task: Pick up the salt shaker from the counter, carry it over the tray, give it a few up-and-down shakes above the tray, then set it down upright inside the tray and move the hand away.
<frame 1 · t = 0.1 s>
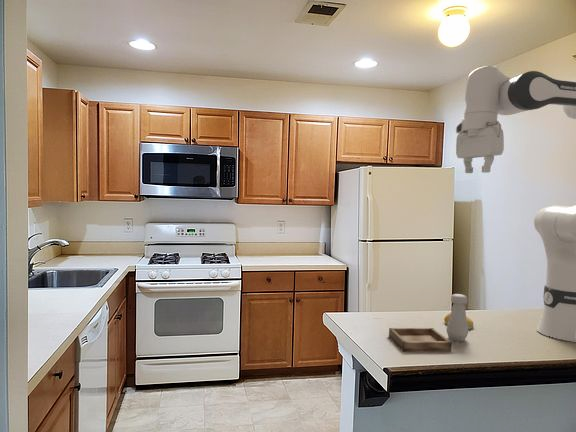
hand: (477, 172, 132), 48 cm above the countertop, tool pointing down, fingers open, 8 cm apart
bread roll: (458, 326, 144), on the countertop
salt shaker: (456, 340, 130), on the countertop
tray: (418, 343, 126), on the countertop
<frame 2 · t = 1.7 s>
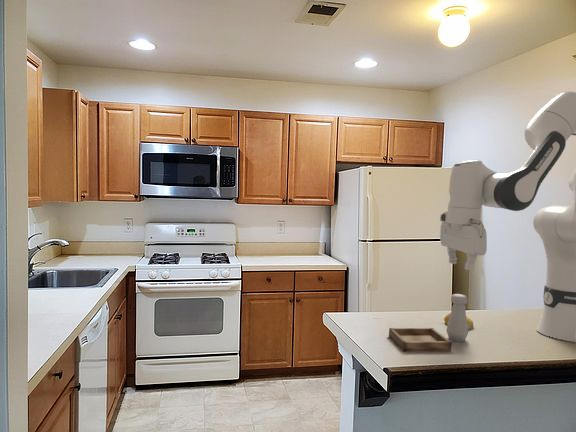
hand: (460, 266, 129), 21 cm above the countertop, tool pointing down, fingers open, 8 cm apart
nothing on the countertop moved.
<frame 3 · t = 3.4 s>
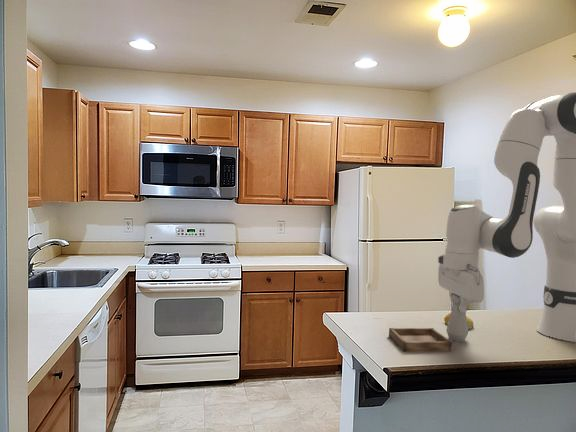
hand: (458, 309, 130), 9 cm above the countertop, tool pointing down, fingers closed on salt shaker, 3 cm apart
salt shaker: (456, 340, 130), on the countertop, touching gripper
everything else where it was.
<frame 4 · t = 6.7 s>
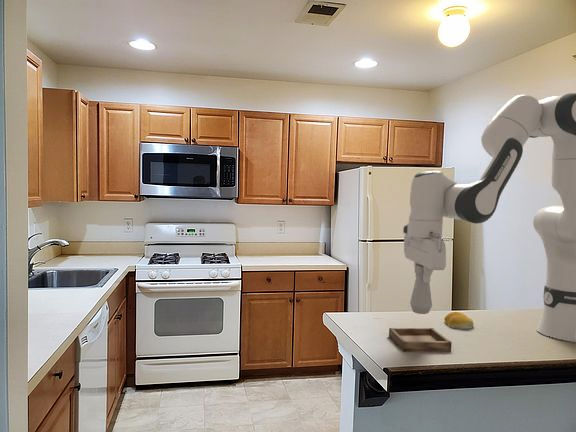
hand: (422, 280, 125), 18 cm above the countertop, tool pointing down, fingers closed on salt shaker, 3 cm apart
salt shaker: (420, 312, 125), point 9 cm above the countertop, touching gripper
everything else where it was.
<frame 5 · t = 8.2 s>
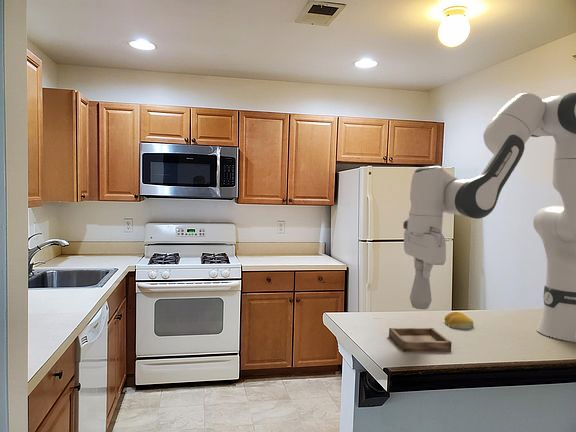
hand: (422, 275, 125), 19 cm above the countertop, tool pointing down, fingers closed on salt shaker, 3 cm apart
salt shaker: (420, 308, 125), point 10 cm above the countertop, touching gripper
everything else where it was.
when the fingers open (10 cm above the countertop, at t = 9.8 s): salt shaker stays where it is, resting on tray.
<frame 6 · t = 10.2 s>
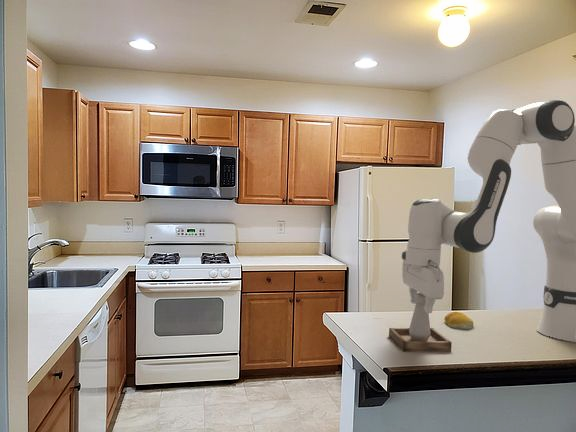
hand: (420, 307, 125), 10 cm above the countertop, tool pointing down, fingers open, 8 cm apart
salt shaker: (419, 341, 126), point 1 cm above the countertop, touching tray
everything else where it was.
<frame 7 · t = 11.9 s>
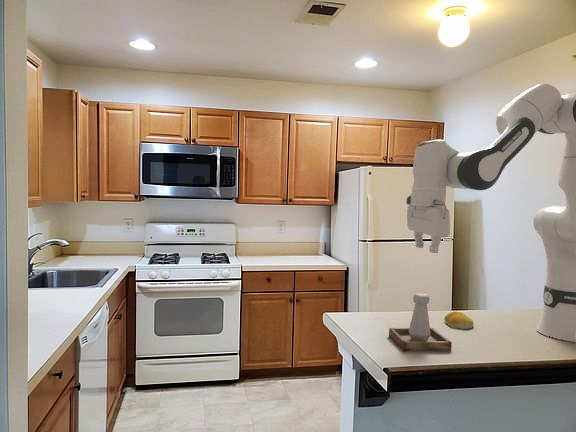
hand: (426, 250, 125), 26 cm above the countertop, tool pointing down, fingers open, 8 cm apart
nothing on the countertop moved.
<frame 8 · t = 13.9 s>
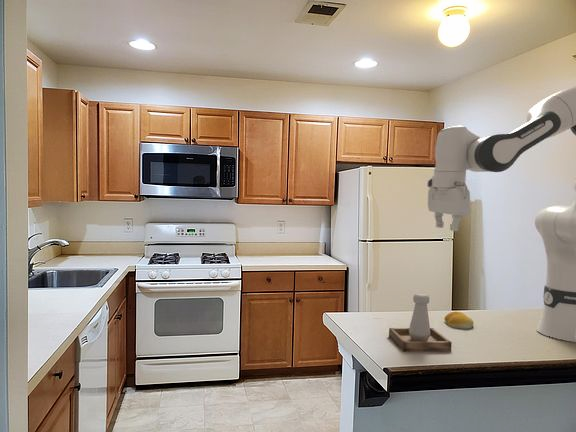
hand: (446, 229, 134), 31 cm above the countertop, tool pointing down, fingers open, 8 cm apart
nothing on the countertop moved.
at the end: salt shaker inside the target area on the tray (0.1 cm from its centre), point 0.6 cm above the tray's base; salt shaker tilted 0°; the gripper is holding nothing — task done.
